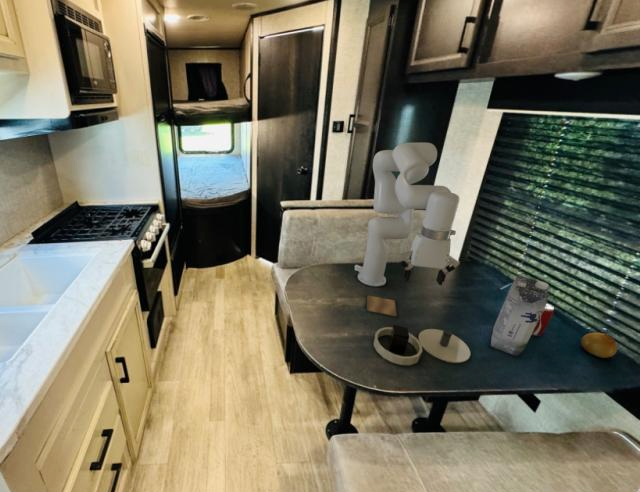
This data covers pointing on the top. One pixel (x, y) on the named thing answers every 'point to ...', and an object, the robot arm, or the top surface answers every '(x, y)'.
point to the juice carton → (519, 315)
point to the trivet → (381, 305)
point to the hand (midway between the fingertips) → (422, 281)
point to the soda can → (543, 320)
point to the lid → (444, 345)
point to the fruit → (599, 344)
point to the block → (398, 339)
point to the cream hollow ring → (393, 357)
